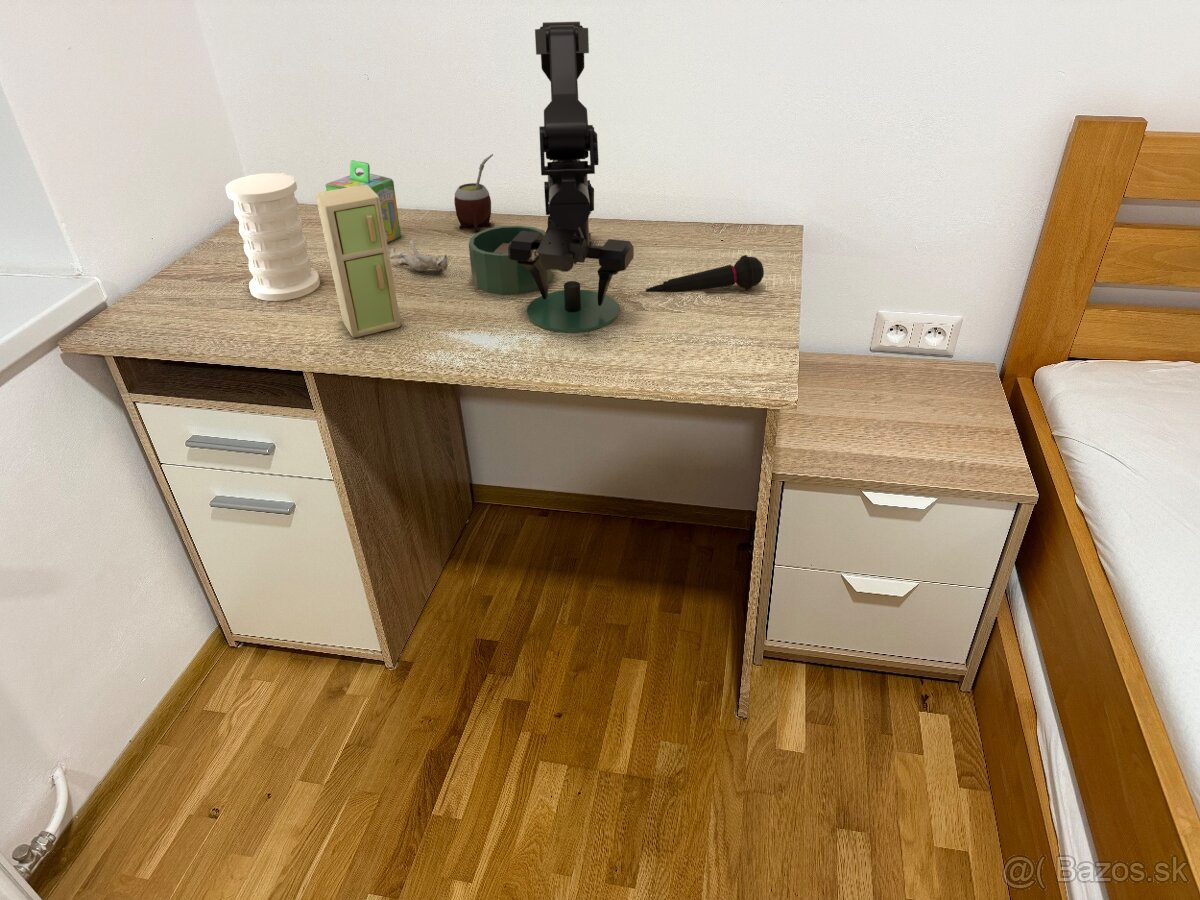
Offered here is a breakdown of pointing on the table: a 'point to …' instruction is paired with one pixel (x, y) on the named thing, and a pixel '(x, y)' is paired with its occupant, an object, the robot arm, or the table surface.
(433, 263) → the soldier figure
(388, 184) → the chalk box
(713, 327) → the table surface
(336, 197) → the toy refrigerator
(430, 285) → the table surface
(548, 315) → the lid
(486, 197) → the mate gourd
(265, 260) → the decorative container
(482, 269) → the tin
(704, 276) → the microphone
